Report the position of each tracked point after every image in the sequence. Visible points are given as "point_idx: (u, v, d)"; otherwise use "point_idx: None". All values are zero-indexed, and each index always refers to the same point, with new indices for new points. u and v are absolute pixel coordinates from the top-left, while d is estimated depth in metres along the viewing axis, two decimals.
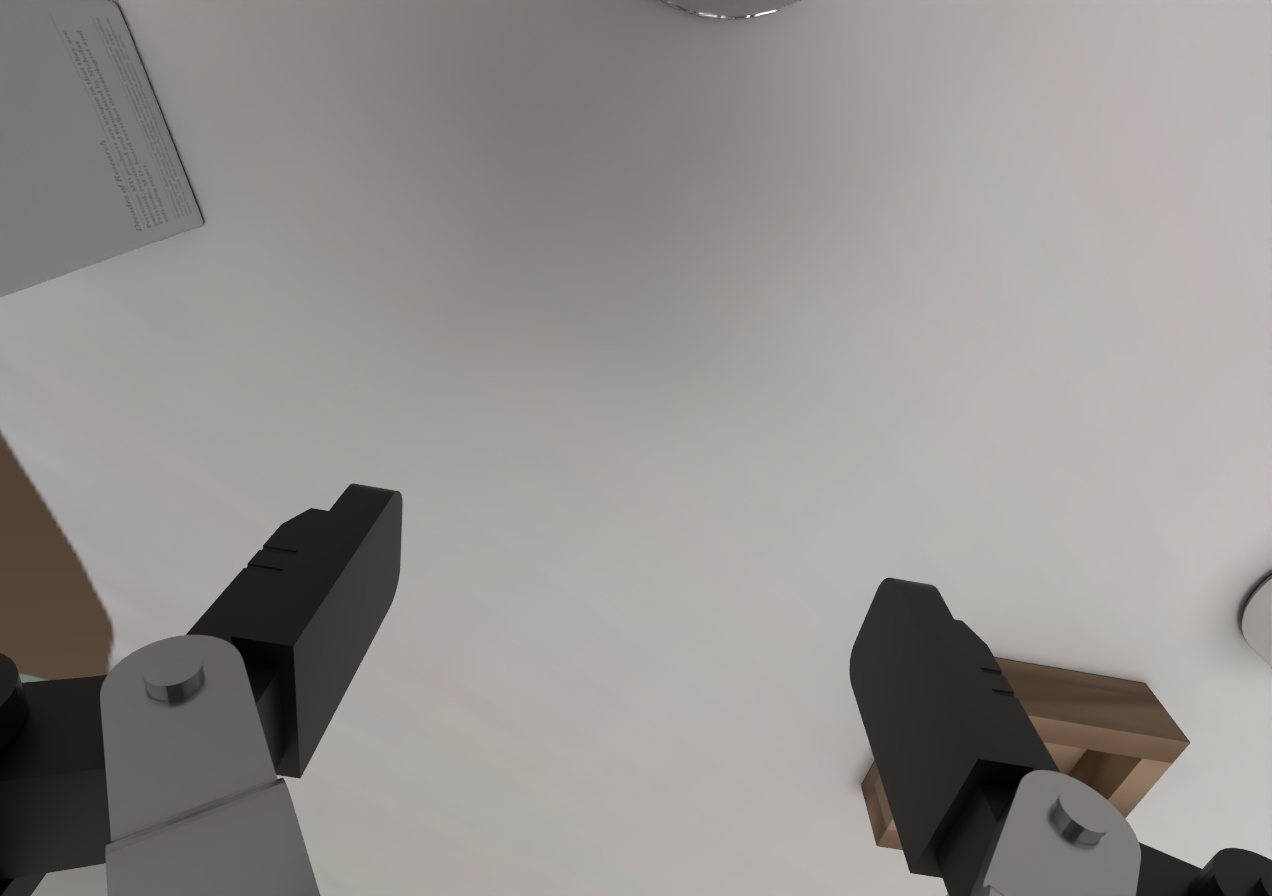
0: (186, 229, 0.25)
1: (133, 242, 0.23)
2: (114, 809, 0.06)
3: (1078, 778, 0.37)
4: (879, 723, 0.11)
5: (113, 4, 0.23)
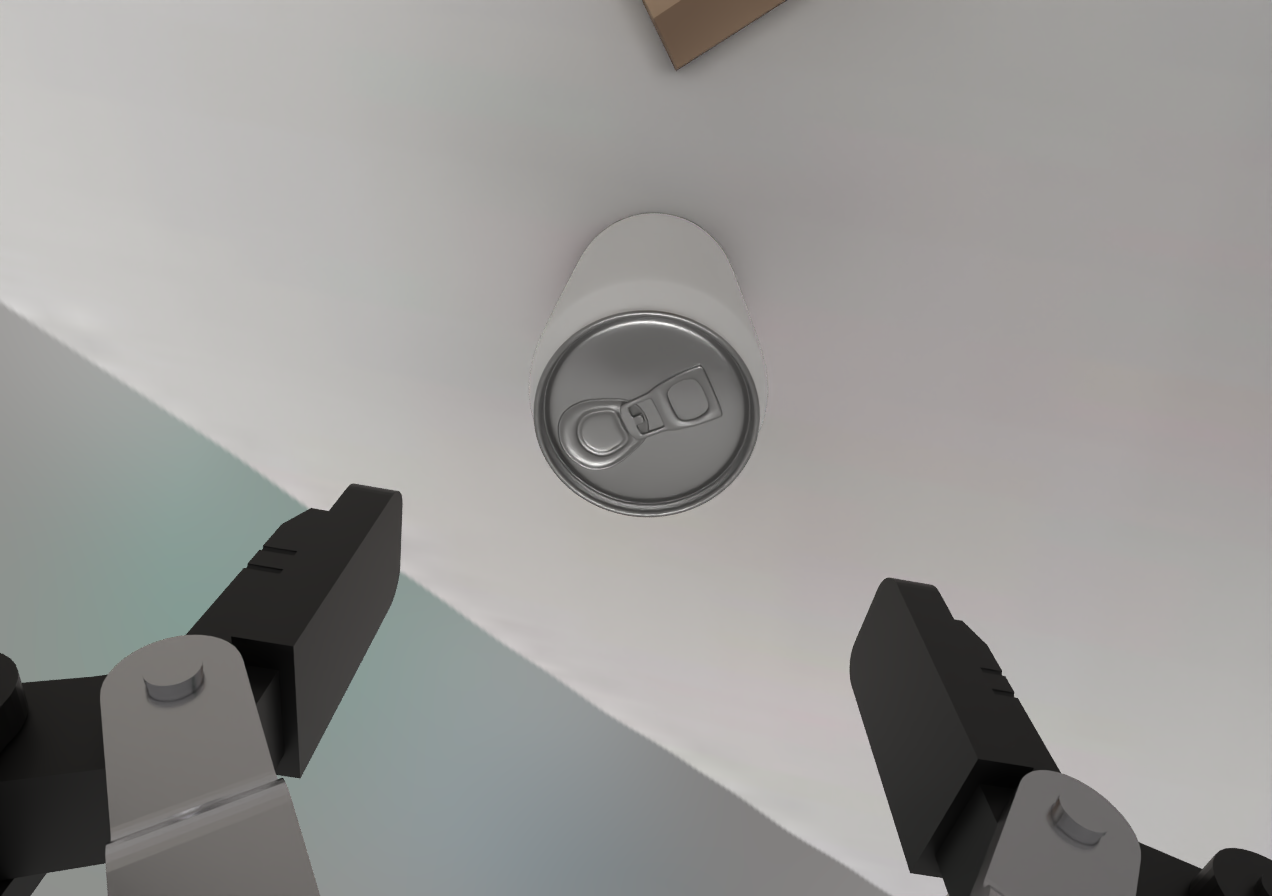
0: None
1: None
2: (114, 809, 0.06)
3: None
4: (879, 723, 0.11)
5: None
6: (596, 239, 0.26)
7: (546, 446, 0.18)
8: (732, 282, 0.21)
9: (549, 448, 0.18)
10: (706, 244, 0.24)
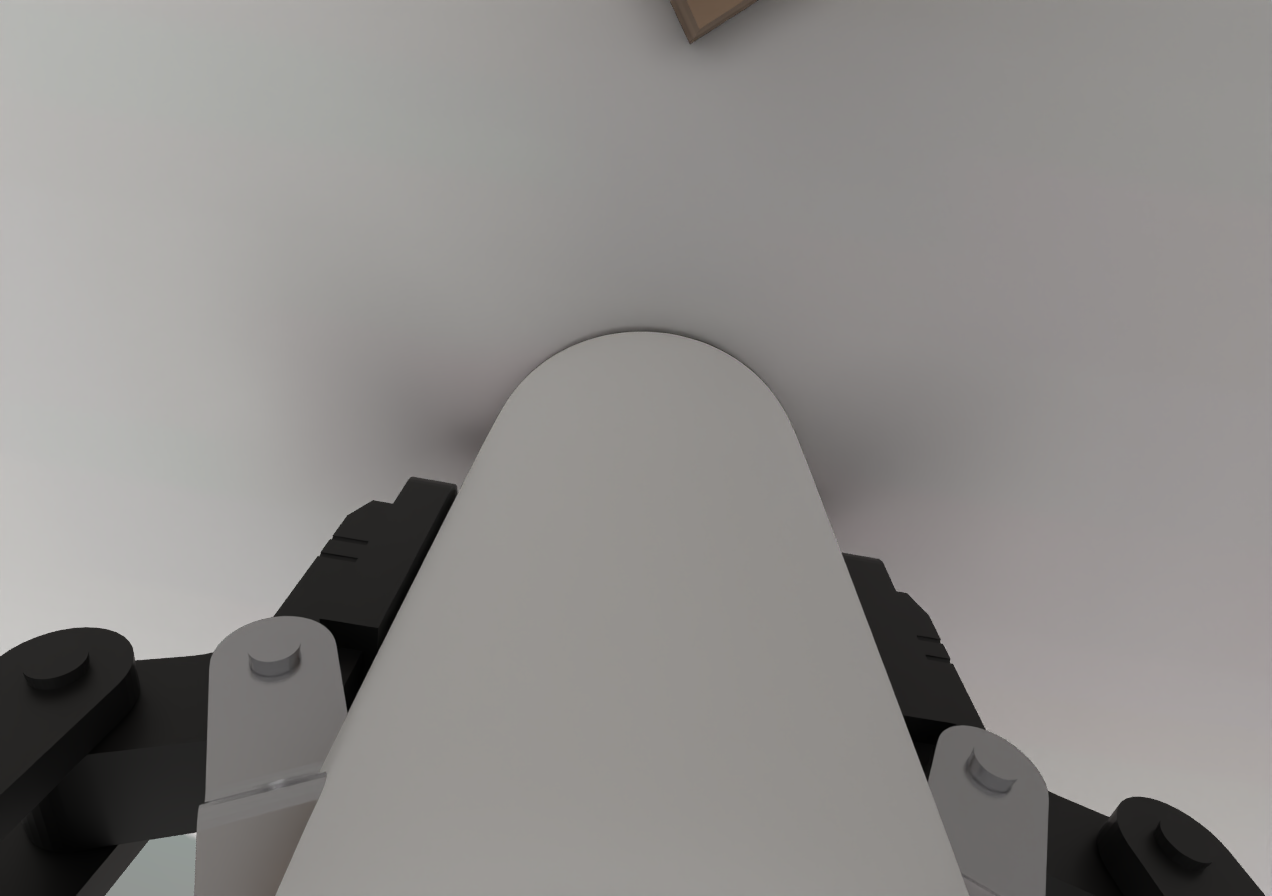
0: None
1: None
2: (210, 772, 0.06)
3: None
4: None
5: None
6: (523, 393, 0.12)
7: None
8: (840, 581, 0.08)
9: None
10: (758, 433, 0.11)
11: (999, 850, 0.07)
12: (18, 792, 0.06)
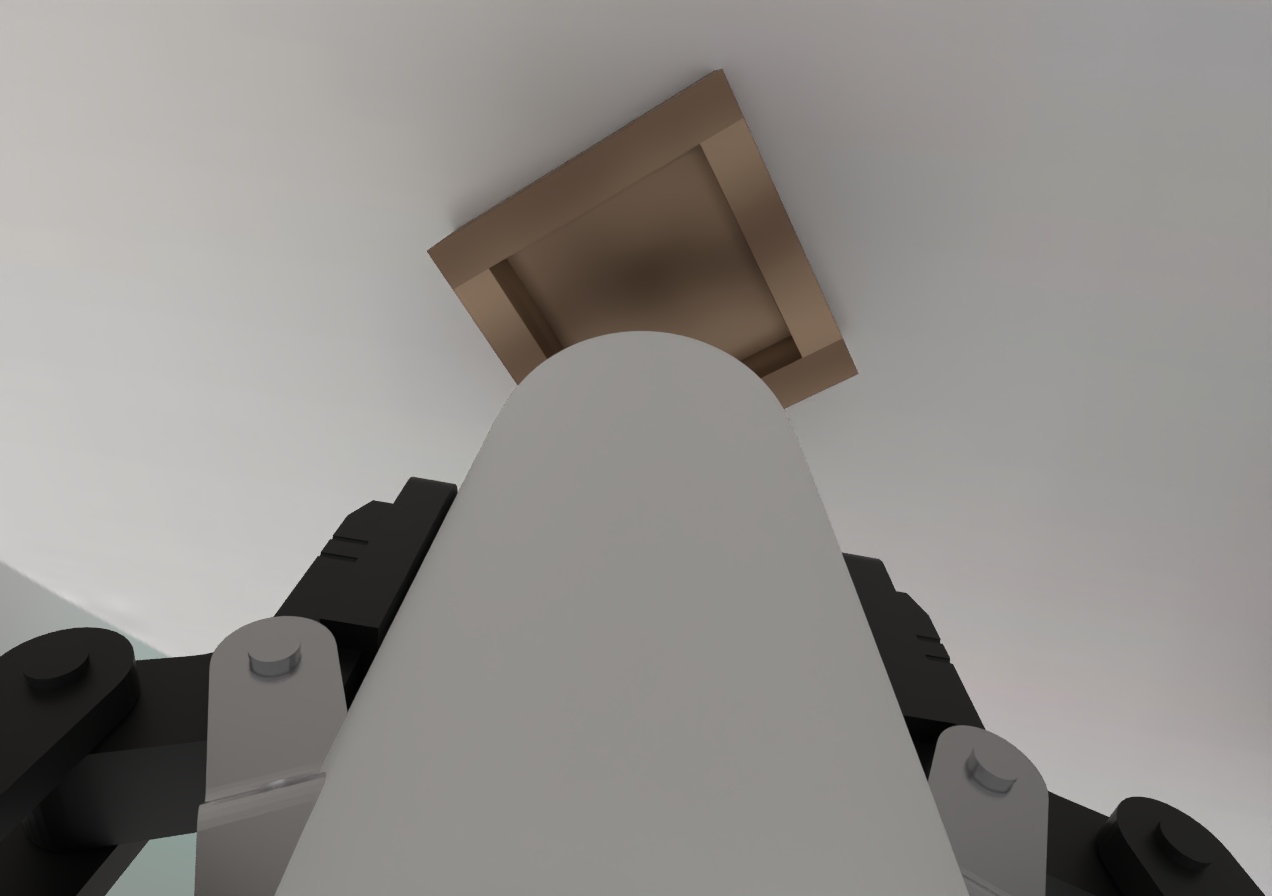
0: None
1: None
2: (210, 772, 0.06)
3: (556, 344, 0.27)
4: None
5: None
6: (523, 392, 0.12)
7: None
8: (840, 581, 0.08)
9: None
10: (758, 432, 0.11)
11: (998, 849, 0.07)
12: (18, 792, 0.06)
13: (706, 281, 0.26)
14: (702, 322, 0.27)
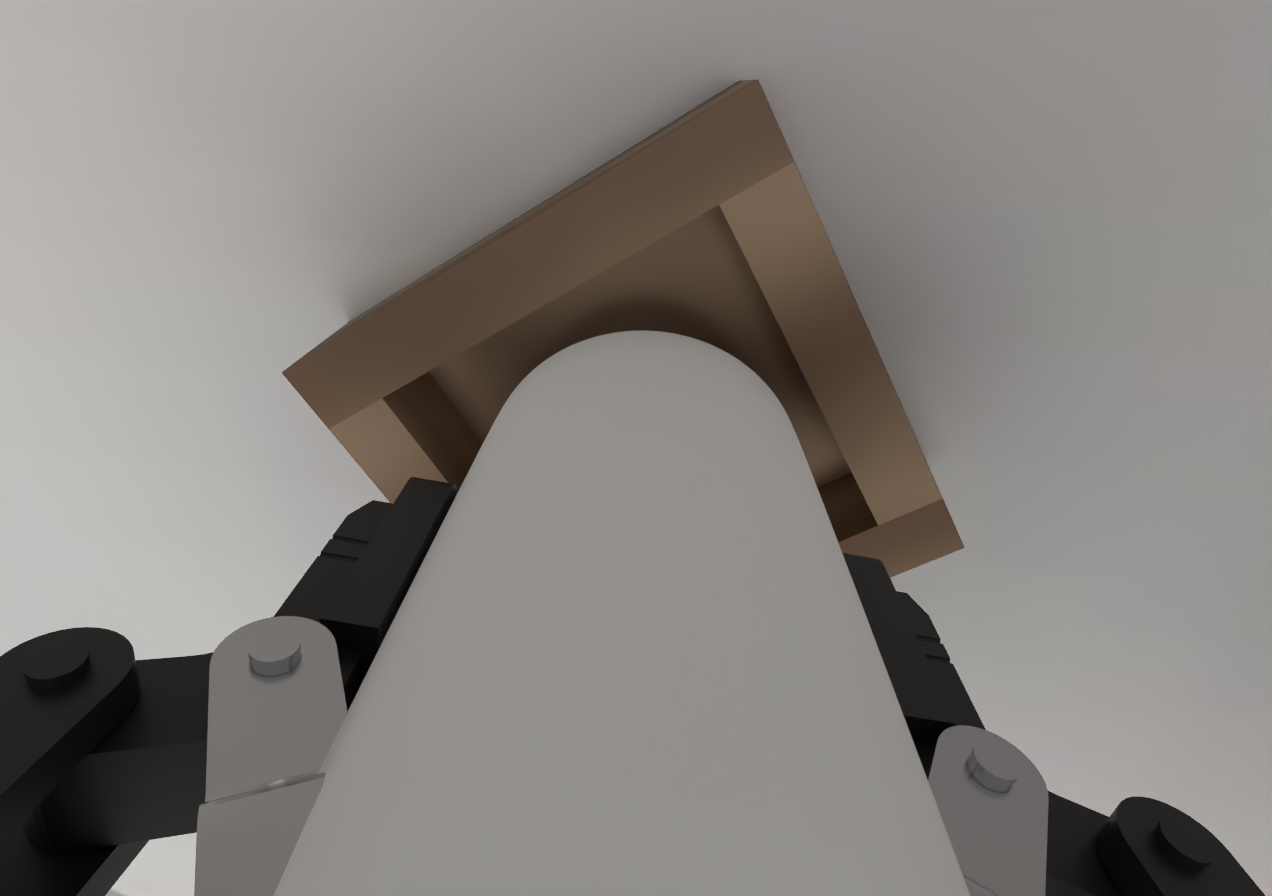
0: None
1: None
2: (210, 772, 0.06)
3: None
4: None
5: None
6: (523, 392, 0.12)
7: None
8: (840, 580, 0.08)
9: None
10: (759, 432, 0.11)
11: (999, 850, 0.07)
12: (18, 792, 0.06)
13: None
14: None
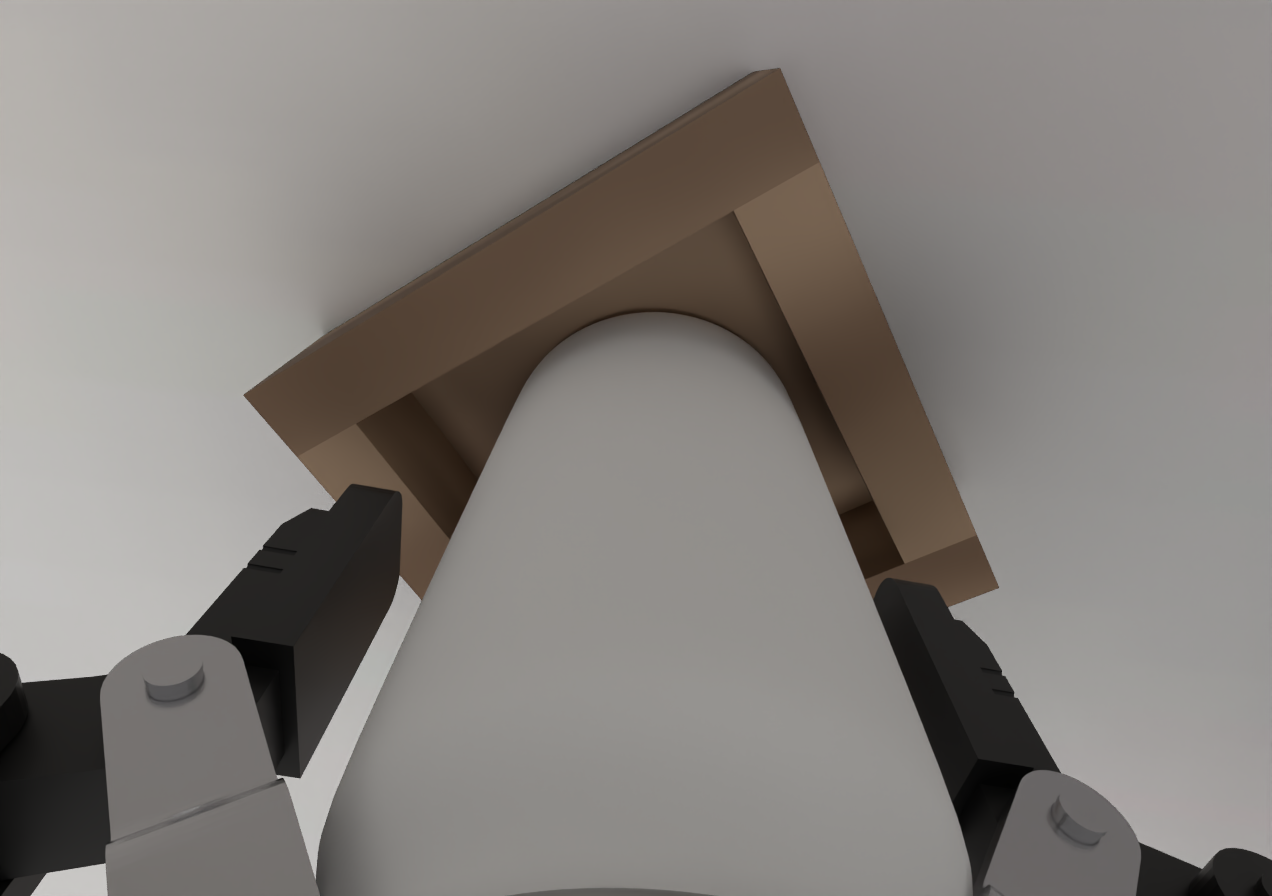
0: None
1: None
2: (114, 809, 0.06)
3: None
4: None
5: None
6: (547, 366, 0.14)
7: None
8: (831, 519, 0.10)
9: None
10: (760, 398, 0.12)
11: None
12: None
13: None
14: None
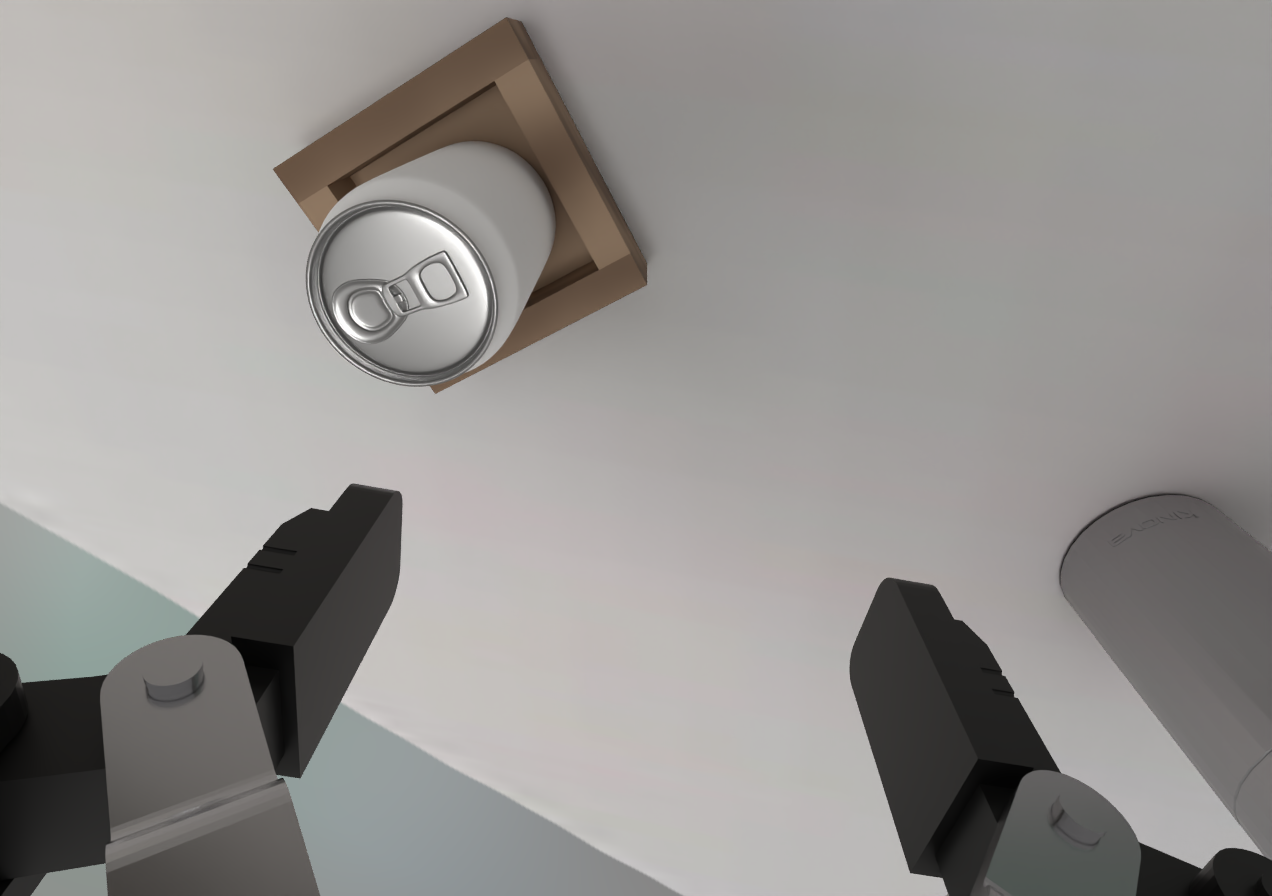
0: None
1: None
2: (114, 809, 0.06)
3: None
4: (879, 723, 0.11)
5: None
6: None
7: (321, 320, 0.21)
8: (514, 195, 0.25)
9: (325, 322, 0.21)
10: (507, 166, 0.27)
11: None
12: None
13: None
14: None
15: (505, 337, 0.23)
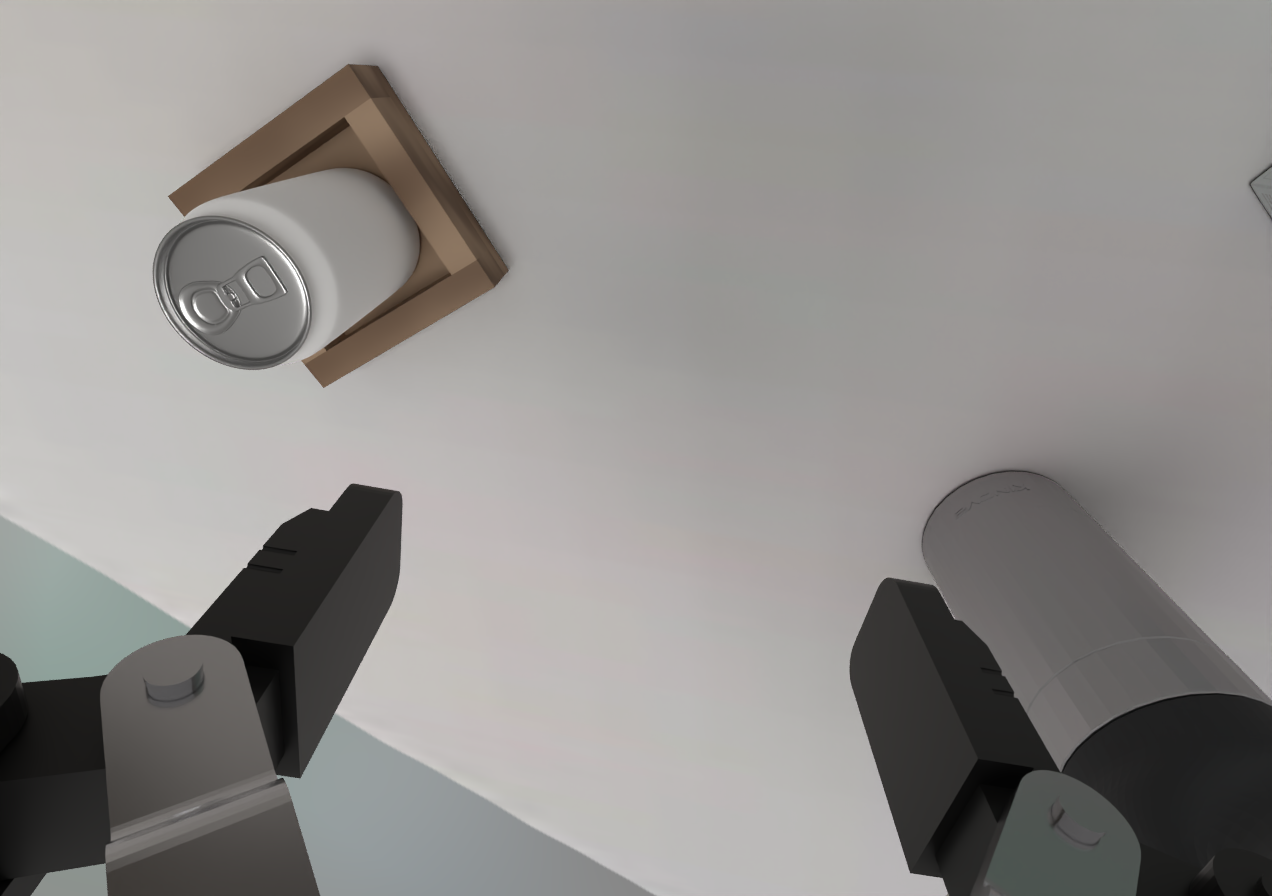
0: (1267, 187, 0.33)
1: None
2: (114, 809, 0.06)
3: None
4: (879, 723, 0.11)
5: None
6: None
7: (170, 315, 0.26)
8: (351, 211, 0.29)
9: (174, 318, 0.26)
10: (357, 187, 0.32)
11: None
12: None
13: None
14: None
15: (331, 328, 0.27)
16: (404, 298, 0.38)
